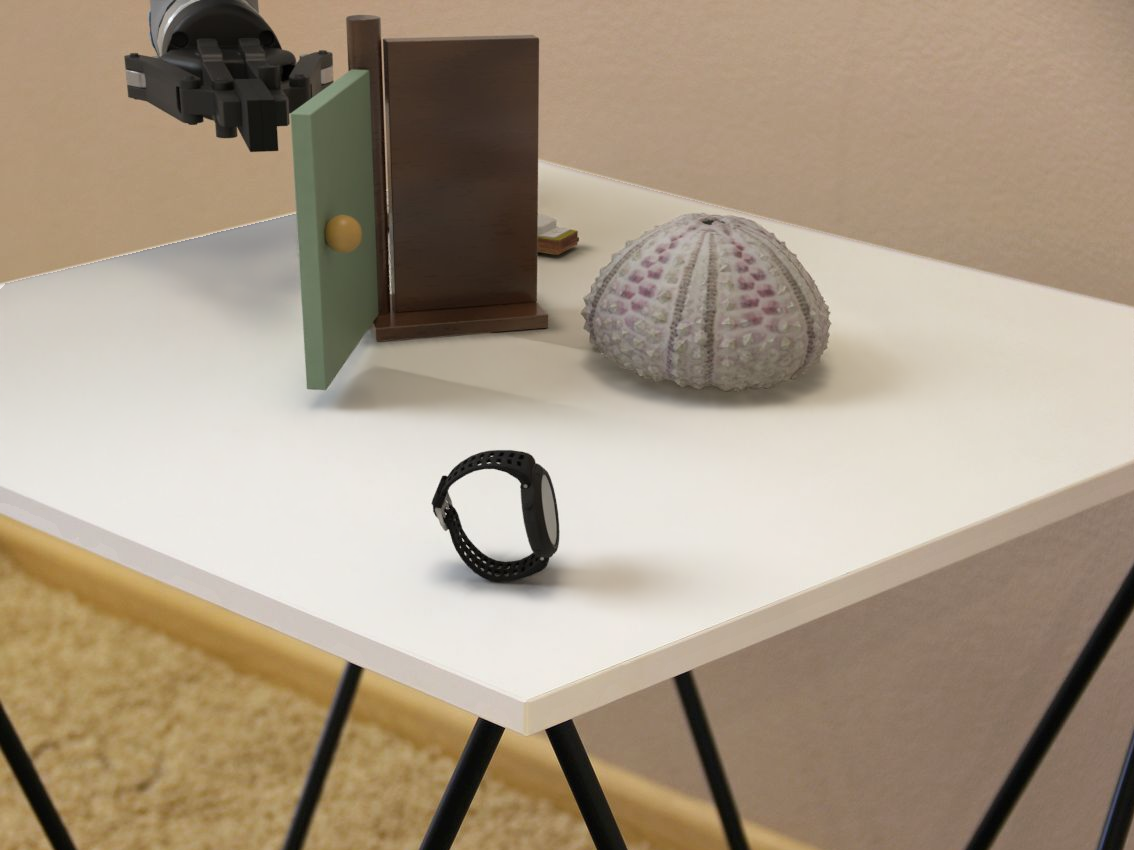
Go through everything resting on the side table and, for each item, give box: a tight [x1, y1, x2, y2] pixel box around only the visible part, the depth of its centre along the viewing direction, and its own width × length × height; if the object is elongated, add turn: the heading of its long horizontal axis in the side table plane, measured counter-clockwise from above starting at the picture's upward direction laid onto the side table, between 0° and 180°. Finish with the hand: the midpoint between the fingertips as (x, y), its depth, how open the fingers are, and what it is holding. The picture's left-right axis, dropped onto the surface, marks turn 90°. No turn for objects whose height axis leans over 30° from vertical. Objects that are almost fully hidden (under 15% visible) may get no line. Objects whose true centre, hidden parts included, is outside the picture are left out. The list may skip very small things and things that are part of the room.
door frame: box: [345, 14, 549, 342], centre depth 85 cm, size 10×6×17 cm, turn 108°
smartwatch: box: [431, 449, 560, 583], centre depth 60 cm, size 4×5×5 cm
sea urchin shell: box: [580, 212, 832, 393], centre depth 81 cm, size 13×14×8 cm
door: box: [289, 69, 378, 391], centre depth 78 cm, size 12×3×14 cm, turn 175°
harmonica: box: [387, 204, 580, 256], centre depth 104 cm, size 15×3×2 cm, turn 64°
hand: (262, 125), depth 81 cm, fingers closed
